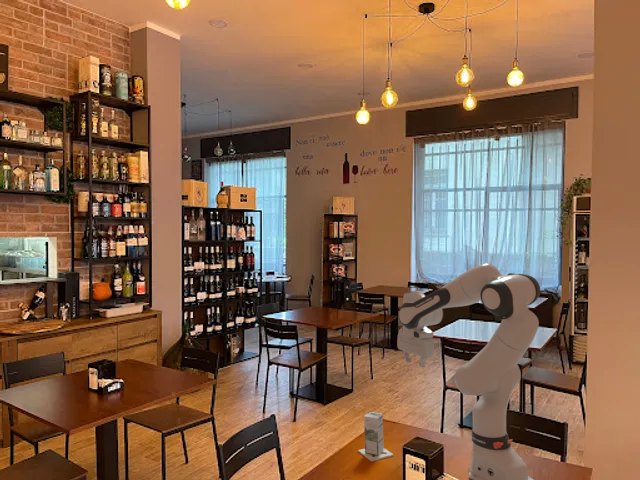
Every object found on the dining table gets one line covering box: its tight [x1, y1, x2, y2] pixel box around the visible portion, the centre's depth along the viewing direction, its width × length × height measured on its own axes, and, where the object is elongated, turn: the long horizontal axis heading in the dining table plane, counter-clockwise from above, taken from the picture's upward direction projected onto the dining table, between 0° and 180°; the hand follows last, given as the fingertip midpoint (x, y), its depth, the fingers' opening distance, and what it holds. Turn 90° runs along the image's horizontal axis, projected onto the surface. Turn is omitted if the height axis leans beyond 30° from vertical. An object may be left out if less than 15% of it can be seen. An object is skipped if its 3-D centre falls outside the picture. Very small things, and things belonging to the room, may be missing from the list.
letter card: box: [357, 447, 395, 463], centre depth 189 cm, size 10×10×1 cm
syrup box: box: [363, 411, 384, 456], centre depth 189 cm, size 6×6×14 cm
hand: (415, 364), depth 199 cm, fingers open, 8 cm apart
